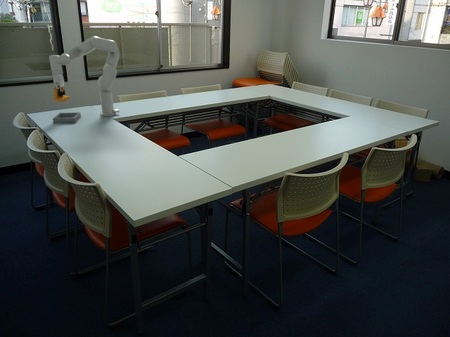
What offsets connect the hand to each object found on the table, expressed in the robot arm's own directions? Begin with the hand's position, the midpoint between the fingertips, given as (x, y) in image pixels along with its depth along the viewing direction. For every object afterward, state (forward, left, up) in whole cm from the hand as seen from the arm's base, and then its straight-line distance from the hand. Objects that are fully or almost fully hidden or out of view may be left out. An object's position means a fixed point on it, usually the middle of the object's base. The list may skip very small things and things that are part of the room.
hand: (62, 95), depth 282 cm
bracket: (0, 0, -4) cm, 4 cm away
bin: (-2, +3, -19) cm, 19 cm away
